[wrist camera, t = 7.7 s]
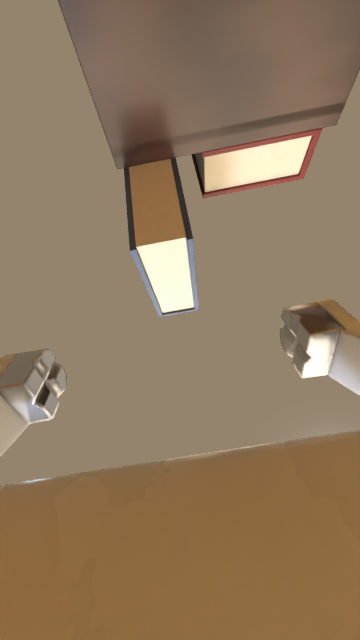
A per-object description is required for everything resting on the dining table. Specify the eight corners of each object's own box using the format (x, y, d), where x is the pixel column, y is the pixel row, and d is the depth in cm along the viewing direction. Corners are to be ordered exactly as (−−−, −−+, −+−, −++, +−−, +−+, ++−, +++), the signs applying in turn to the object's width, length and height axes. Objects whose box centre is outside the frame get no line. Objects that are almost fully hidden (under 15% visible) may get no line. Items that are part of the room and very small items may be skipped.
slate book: (193, 238, 15) (199, 310, 24) (158, 80, 23) (172, 177, 32) (129, 250, 15) (159, 317, 24) (118, 88, 23) (143, 183, 33)
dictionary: (322, 128, 18) (303, 178, 22) (273, 55, 23) (264, 106, 27) (201, 152, 18) (202, 198, 22) (179, 75, 23) (183, 123, 27)
